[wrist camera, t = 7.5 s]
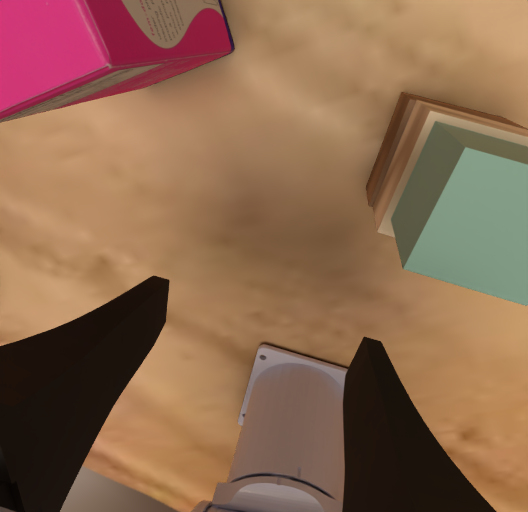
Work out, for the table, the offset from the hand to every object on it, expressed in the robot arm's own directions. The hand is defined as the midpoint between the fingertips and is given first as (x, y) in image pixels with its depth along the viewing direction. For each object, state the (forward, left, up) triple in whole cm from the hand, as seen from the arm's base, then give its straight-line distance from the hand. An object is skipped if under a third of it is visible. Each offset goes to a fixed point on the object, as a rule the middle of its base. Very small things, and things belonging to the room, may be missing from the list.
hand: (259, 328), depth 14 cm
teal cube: (+5, -6, -5) cm, 9 cm away
